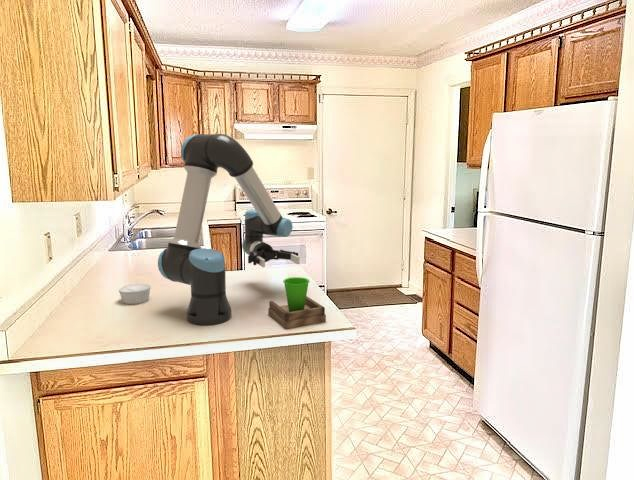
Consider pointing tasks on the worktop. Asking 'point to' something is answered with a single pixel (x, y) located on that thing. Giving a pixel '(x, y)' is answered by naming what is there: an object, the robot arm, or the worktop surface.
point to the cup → (296, 292)
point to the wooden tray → (297, 314)
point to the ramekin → (135, 293)
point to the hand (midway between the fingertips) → (281, 262)
